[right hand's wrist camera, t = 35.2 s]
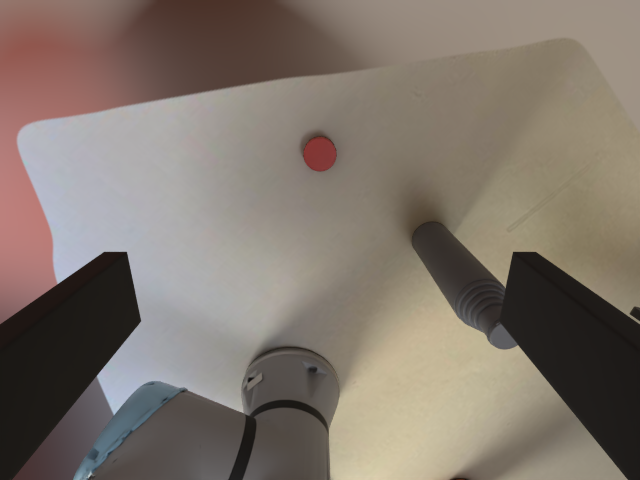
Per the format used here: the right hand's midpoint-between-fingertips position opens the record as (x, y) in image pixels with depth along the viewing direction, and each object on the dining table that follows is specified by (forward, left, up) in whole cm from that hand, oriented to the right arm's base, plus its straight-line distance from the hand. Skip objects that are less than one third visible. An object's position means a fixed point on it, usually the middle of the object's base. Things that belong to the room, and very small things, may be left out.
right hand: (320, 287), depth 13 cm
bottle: (-14, -12, -35) cm, 40 cm away
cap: (0, 0, -33) cm, 33 cm away
